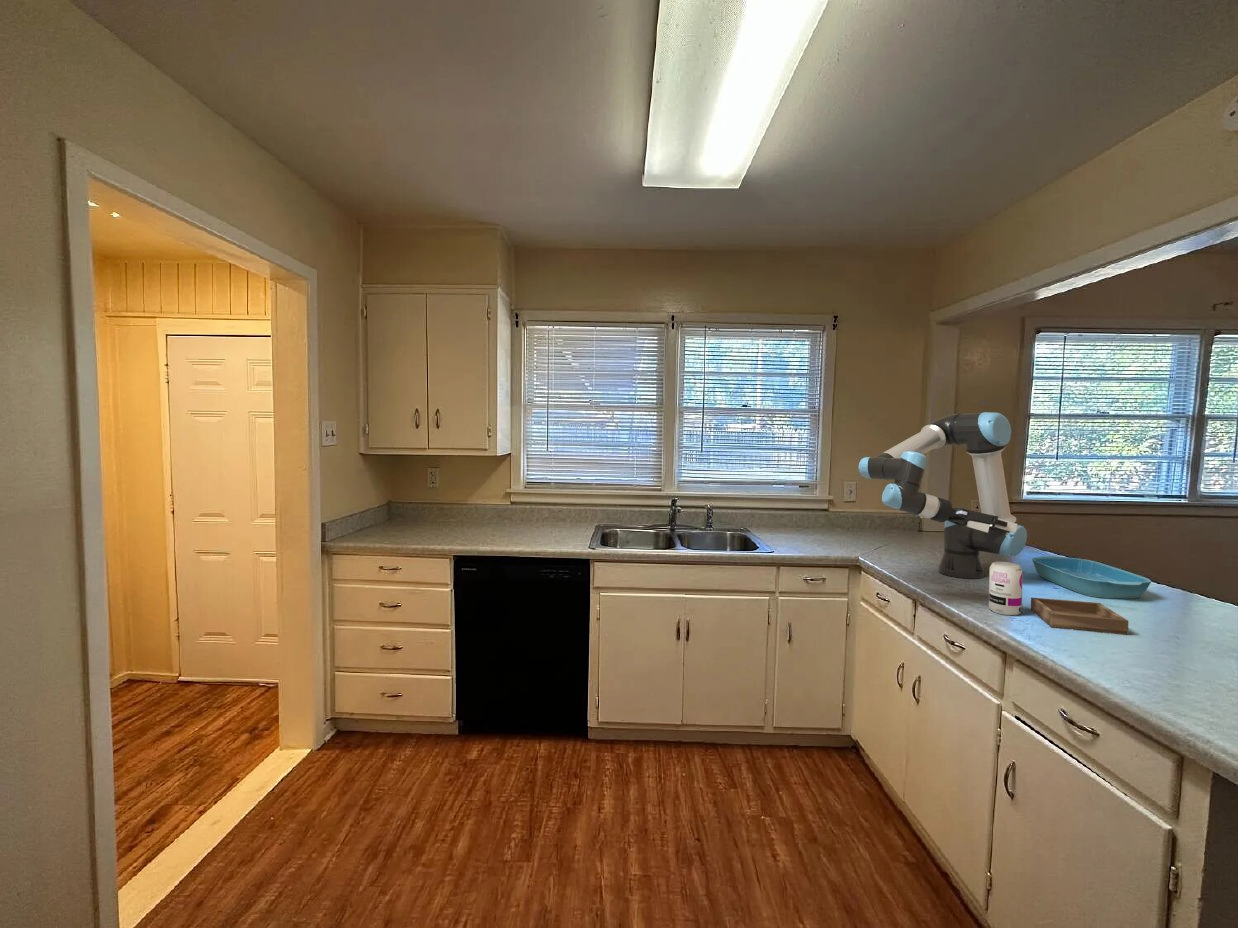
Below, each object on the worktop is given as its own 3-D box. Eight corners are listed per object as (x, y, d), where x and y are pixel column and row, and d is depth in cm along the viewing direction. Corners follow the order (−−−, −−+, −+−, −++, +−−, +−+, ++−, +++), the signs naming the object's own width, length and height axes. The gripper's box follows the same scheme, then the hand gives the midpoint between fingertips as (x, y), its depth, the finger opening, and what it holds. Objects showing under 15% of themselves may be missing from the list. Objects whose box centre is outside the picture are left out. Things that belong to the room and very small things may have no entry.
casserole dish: (1168, 604, 167) (1169, 582, 167) (1091, 602, 170) (1092, 581, 170) (1081, 574, 204) (1082, 555, 203) (1019, 573, 207) (1020, 555, 206)
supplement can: (1019, 609, 164) (1020, 562, 163) (1023, 617, 157) (1024, 568, 156) (987, 605, 168) (988, 560, 167) (990, 613, 161) (991, 565, 160)
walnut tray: (1030, 609, 164) (1031, 597, 163) (1099, 615, 158) (1099, 602, 157) (1051, 627, 149) (1051, 613, 149) (1127, 634, 143) (1128, 620, 142)
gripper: (912, 520, 180) (975, 539, 178) (952, 518, 156) (1025, 540, 153) (917, 499, 181) (980, 518, 179) (958, 494, 157) (1031, 515, 154)
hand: (1001, 528), depth 166 cm, fingers open, 13 cm apart
